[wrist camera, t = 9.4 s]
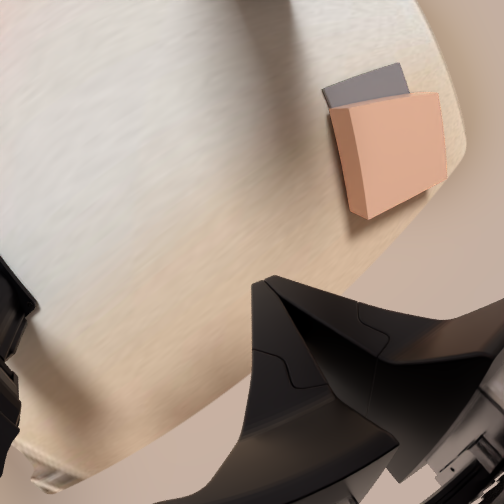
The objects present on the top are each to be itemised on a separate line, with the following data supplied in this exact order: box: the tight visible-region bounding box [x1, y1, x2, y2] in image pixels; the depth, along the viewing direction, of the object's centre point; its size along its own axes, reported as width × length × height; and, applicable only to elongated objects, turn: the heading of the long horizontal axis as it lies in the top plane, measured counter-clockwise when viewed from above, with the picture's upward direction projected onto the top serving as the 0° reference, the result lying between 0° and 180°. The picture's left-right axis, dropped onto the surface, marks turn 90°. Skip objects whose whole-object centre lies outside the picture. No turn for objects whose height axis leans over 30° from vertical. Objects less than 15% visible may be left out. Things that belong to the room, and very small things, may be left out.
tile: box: [329, 92, 447, 220], centre depth 22 cm, size 3×9×12 cm
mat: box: [322, 63, 410, 108], centre depth 22 cm, size 10×10×1 cm
